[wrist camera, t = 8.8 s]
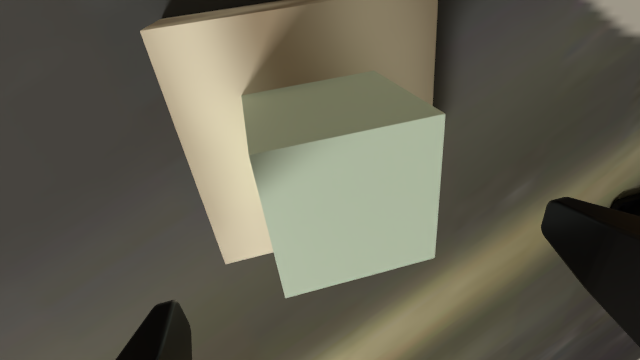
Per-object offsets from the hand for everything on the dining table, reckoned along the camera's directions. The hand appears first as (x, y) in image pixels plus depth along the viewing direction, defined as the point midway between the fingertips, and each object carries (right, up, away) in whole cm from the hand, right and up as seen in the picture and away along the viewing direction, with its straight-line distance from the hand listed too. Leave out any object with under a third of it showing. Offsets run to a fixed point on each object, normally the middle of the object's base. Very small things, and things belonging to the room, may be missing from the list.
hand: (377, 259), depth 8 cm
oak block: (-2, +5, +9) cm, 11 cm away
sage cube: (-1, +3, +6) cm, 7 cm away
